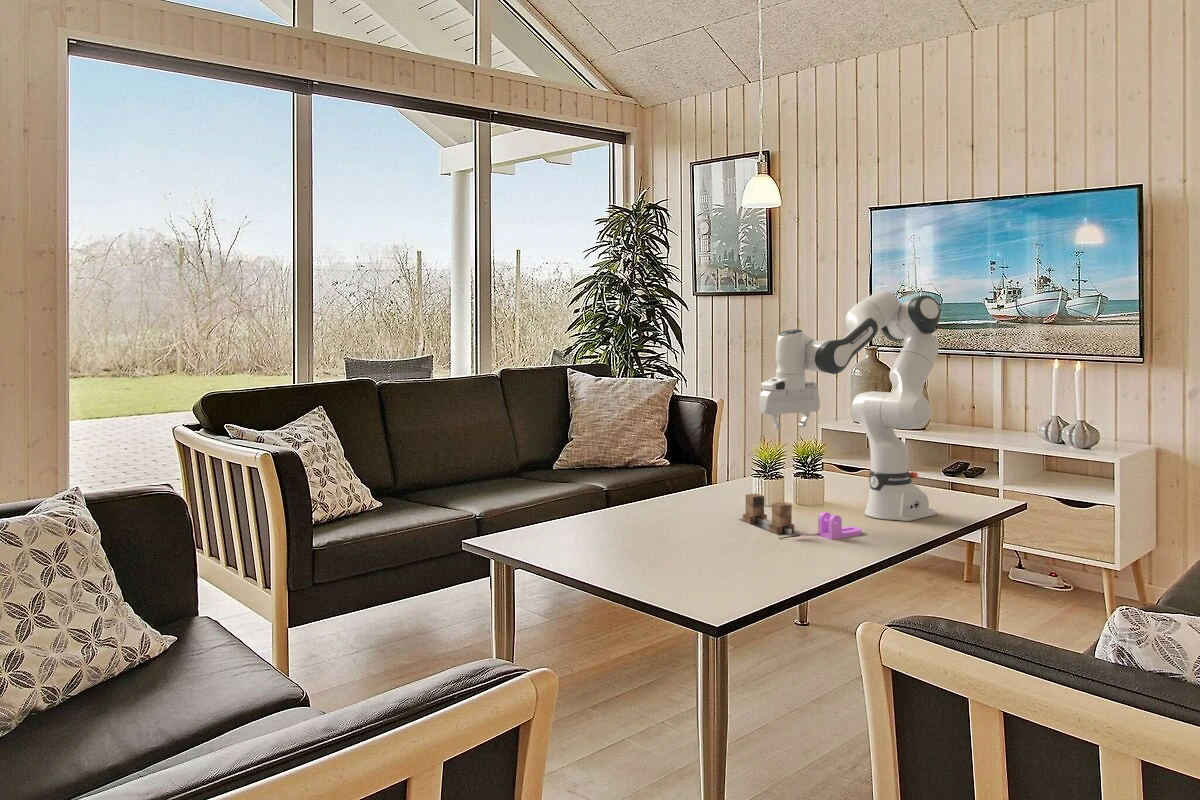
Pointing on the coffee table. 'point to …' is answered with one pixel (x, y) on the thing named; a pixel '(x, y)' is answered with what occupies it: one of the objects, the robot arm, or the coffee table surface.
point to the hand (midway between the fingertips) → (789, 427)
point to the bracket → (834, 527)
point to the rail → (764, 525)
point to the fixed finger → (754, 507)
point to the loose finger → (781, 517)
